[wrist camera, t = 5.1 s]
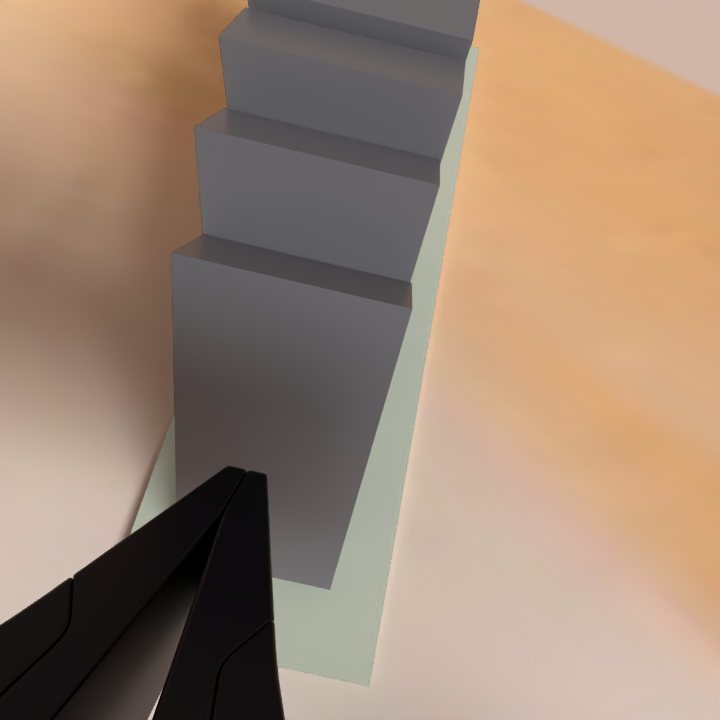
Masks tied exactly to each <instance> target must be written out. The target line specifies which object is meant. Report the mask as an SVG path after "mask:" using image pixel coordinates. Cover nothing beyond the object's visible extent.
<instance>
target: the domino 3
mask: <svg viewBox="0 0 720 720" xmlns="http://www.w3.org/2000/svg"><path fill="white" fill-rule="evenodd" d="M219 42H220V51H221V59H222V68H223V76H224V85H225V93H226V102H227V109H230V110H234V111H238V112H242V113H247V114H251V115H255V116H259V117H263V118H267V119H272V120H276V121H280V122H284V123H288V124H292V125H297V126H301V127H305V128H309V129H313V130H317V131H322V132H326V133H330V134H334V135H338V136H342V137H347V138H351V139H355V140H359V141H363V142H367V143H372V144H376V145H380V146H384V147H388V148H392V149H397V150H401V151H405V152H409V153H413V154H417V155H422V156H426V157H430V158H434V159H438V160H440V164H441V161H442V158H443V154H444V151H445V148H446V145H447V142H448V139H449V136H450V133H451V130H452V127H453V123H454V120H455V117H456V114H457V111H458V108H459V105H460V102H461V99H462V95H463V85H464V75H465V64H466V61H462V60H458V59H453V58H449V57H445V56H441V55H437V54H433V53H429V52H425V51H421V50H417V49H413V48H408V47H404V46H400V45H396V44H392V43H388V42H384V41H380V40H376V39H372V38H368V37H363V36H359V35H355V34H351V33H347V32H343V31H339V30H335V29H331V28H327V27H323V26H318V25H314V24H310V23H306V22H302V21H298V20H294V19H290V18H286V17H282V16H278V15H273V14H269V13H265V12H261V11H257V10H253V9H249V8H244V9H243V10H242V11H241V13H240V14H239V15H238V16H237V17H236V18H235V19H234V20H233V21H232V22H231V23H230V25H229V26H228V27H227V28H226V29H225V30H224V31H223V32H222V33H221V34H220V35H219Z"/></svg>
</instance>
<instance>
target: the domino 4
mask: <svg viewBox="0 0 720 720" xmlns="http://www.w3.org/2000/svg"><path fill="white" fill-rule="evenodd" d="M479 3H480V0H248V5H249V9H253V10H257V11H261V12H265V13H269V14H273V15H278V16H282V17H286V18H290V19H294V20H298V21H302V22H306V23H310V24H314V25H318V26H323V27H327V28H331V29H335V30H339V31H343V32H347V33H351V34H355V35H359V36H363V37H368V38H372V39H376V40H380V41H384V42H388V43H392V44H396V45H400V46H404V47H408V48H413V49H417V50H421V51H425V52H429V53H433V54H437V55H441V56H445V57H449V58H453V59H458V60H462V61H466V59H467V56H468V53H469V50H470V47H471V44H472V41H473V36H474V31H475V25H476V20H477V14H478V8H479Z"/></svg>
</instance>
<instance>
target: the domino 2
mask: <svg viewBox="0 0 720 720" xmlns="http://www.w3.org/2000/svg"><path fill="white" fill-rule="evenodd" d="M194 131H195V144H196V156H197V169H198V182H199V195H200V207H201V220H202V233H203V235H204V234H206V235H210V236H214V237H219V238H223V239H227V240H231V241H236V242H240V243H244V244H248V245H253V246H257V247H261V248H265V249H270V250H274V251H278V252H282V253H287V254H291V255H295V256H300V257H304V258H308V259H312V260H317V261H321V262H325V263H329V264H334V265H338V266H342V267H346V268H351V269H355V270H359V271H363V272H368V273H372V274H376V275H380V276H385V277H389V278H393V279H398V280H402V281H406V282H411V278H412V275H413V272H414V269H415V265H416V262H417V259H418V255H419V252H420V249H421V246H422V242H423V239H424V236H425V233H426V229H427V226H428V223H429V220H430V216H431V213H432V210H433V207H434V203H435V200H436V197H437V193H438V190H439V187H440V160H438V159H434V158H430V157H426V156H422V155H417V154H413V153H409V152H405V151H401V150H397V149H392V148H388V147H384V146H380V145H376V144H372V143H367V142H363V141H359V140H355V139H351V138H347V137H342V136H338V135H334V134H330V133H326V132H322V131H317V130H313V129H309V128H305V127H301V126H297V125H292V124H288V123H284V122H280V121H276V120H272V119H267V118H263V117H259V116H255V115H251V114H247V113H242V112H238V111H234V110H230V109H226V108H224V109H222V110H221V111H219V112H217V113H216V114H214V115H212V116H211V117H209V118H207V119H206V120H204V121H203V122H201V123H199V124H198V125H196V126H194Z"/></svg>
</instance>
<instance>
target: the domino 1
mask: <svg viewBox="0 0 720 720" xmlns="http://www.w3.org/2000/svg"><path fill="white" fill-rule="evenodd" d="M172 306H173V362H174V418H175V474H176V502H177V501H178V500H180V499H181V498H183V497H184V496H185V495H187V494H188V493H190V492H191V491H192V490H194V489H195V488H197V487H198V486H199V485H201V484H202V483H204V482H205V481H206V480H208V479H209V478H211V477H212V476H213V475H215V474H216V473H218V472H219V471H221V470H222V469H223V468H225V467H227V466H234V467H238V468H243V469H245V470H246V471H247V472H248V471H250V470H252V471H256V472H260V473H265V474H266V475H267V480H268V500H269V520H270V540H271V560H272V577H273V578H278V579H282V580H287V581H291V582H296V583H300V584H305V585H309V586H314V587H319V588H323V589H328V590H330V588H331V585H332V581H333V578H334V575H335V571H336V568H337V564H338V561H339V558H340V554H341V551H342V547H343V544H344V541H345V537H346V534H347V530H348V527H349V523H350V520H351V517H352V513H353V510H354V506H355V503H356V500H357V496H358V493H359V489H360V486H361V483H362V479H363V476H364V472H365V469H366V466H367V462H368V459H369V455H370V452H371V449H372V445H373V442H374V438H375V435H376V432H377V428H378V425H379V421H380V418H381V415H382V411H383V408H384V404H385V401H386V397H387V394H388V391H389V387H390V384H391V380H392V377H393V374H394V370H395V367H396V363H397V360H398V357H399V353H400V350H401V346H402V343H403V340H404V336H405V333H406V329H407V326H408V323H409V319H410V316H411V312H412V283H410V282H406V281H402V280H398V279H393V278H389V277H385V276H380V275H376V274H372V273H368V272H363V271H359V270H355V269H351V268H346V267H342V266H338V265H334V264H329V263H325V262H321V261H317V260H312V259H308V258H304V257H300V256H295V255H291V254H287V253H282V252H278V251H274V250H270V249H265V248H261V247H257V246H253V245H248V244H244V243H240V242H236V241H231V240H227V239H223V238H219V237H214V236H210V235H206V234H204V235H202V236H200V237H198V238H197V239H195V240H193V241H191V242H190V243H188V244H186V245H184V246H183V247H181V248H179V249H177V250H176V251H174V252H172Z"/></svg>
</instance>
